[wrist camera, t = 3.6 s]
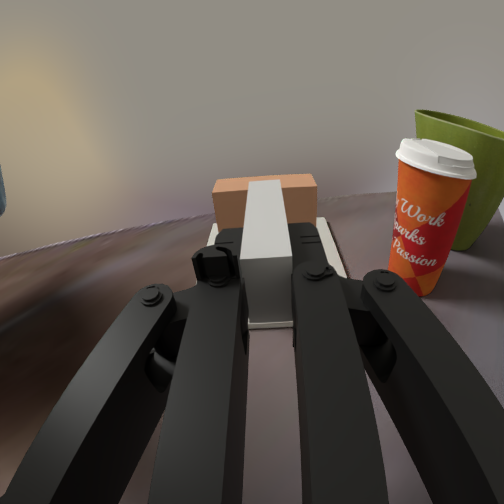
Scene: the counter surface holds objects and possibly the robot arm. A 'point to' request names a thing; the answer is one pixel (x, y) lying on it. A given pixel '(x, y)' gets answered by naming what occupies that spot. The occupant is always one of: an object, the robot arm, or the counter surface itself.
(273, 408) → the counter surface
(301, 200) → the card box
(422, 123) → the flower pot
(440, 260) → the paper cup
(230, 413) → the robot arm
